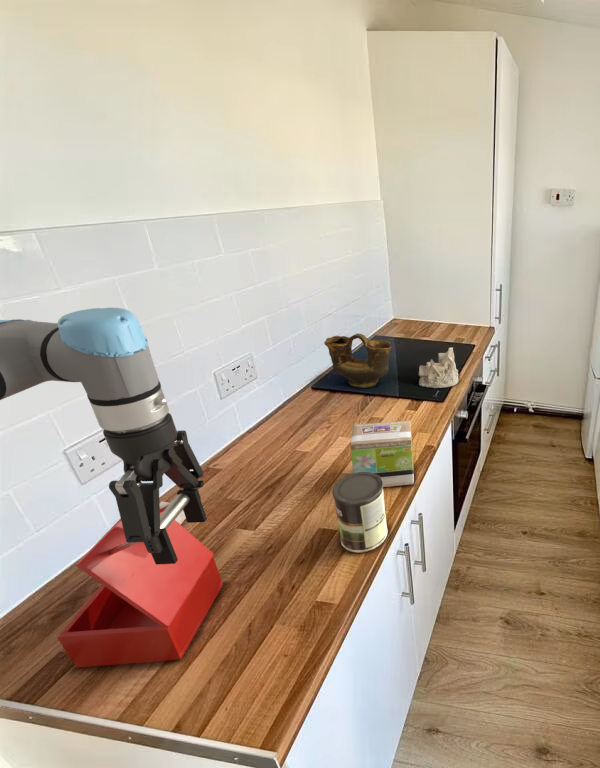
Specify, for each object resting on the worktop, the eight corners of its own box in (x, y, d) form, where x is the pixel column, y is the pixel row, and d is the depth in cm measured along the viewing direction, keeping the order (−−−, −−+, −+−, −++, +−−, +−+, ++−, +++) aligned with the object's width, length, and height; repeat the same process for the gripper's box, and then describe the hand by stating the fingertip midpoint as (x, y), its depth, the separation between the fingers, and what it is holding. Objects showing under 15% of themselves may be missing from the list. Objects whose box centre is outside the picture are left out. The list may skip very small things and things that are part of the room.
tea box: (355, 492, 111) (348, 444, 104) (357, 468, 119) (351, 423, 113) (414, 485, 114) (412, 438, 108) (413, 462, 123) (410, 418, 117)
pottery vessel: (324, 385, 163) (317, 336, 154) (337, 374, 173) (331, 326, 164) (389, 391, 162) (385, 341, 153) (398, 379, 171) (395, 331, 163)
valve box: (76, 668, 70) (56, 637, 66) (136, 590, 83) (122, 561, 79) (181, 659, 72) (167, 629, 68) (223, 584, 85) (213, 556, 81)
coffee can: (341, 558, 92) (332, 507, 86) (340, 524, 101) (332, 476, 94) (390, 546, 95) (385, 497, 89) (385, 515, 104) (380, 467, 98)
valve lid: (74, 565, 61) (132, 539, 60) (142, 496, 74) (190, 473, 73) (164, 628, 68) (216, 605, 67) (210, 555, 81) (255, 535, 80)
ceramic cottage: (460, 371, 181) (458, 337, 174) (456, 390, 166) (453, 354, 159) (423, 371, 181) (419, 338, 174) (416, 390, 166) (411, 355, 159)
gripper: (114, 464, 51) (170, 595, 61) (205, 386, 70) (236, 496, 80) (43, 466, 50) (111, 598, 60) (154, 387, 69) (193, 497, 79)
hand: (183, 540), depth 70 cm, fingers closed on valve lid, 8 cm apart
